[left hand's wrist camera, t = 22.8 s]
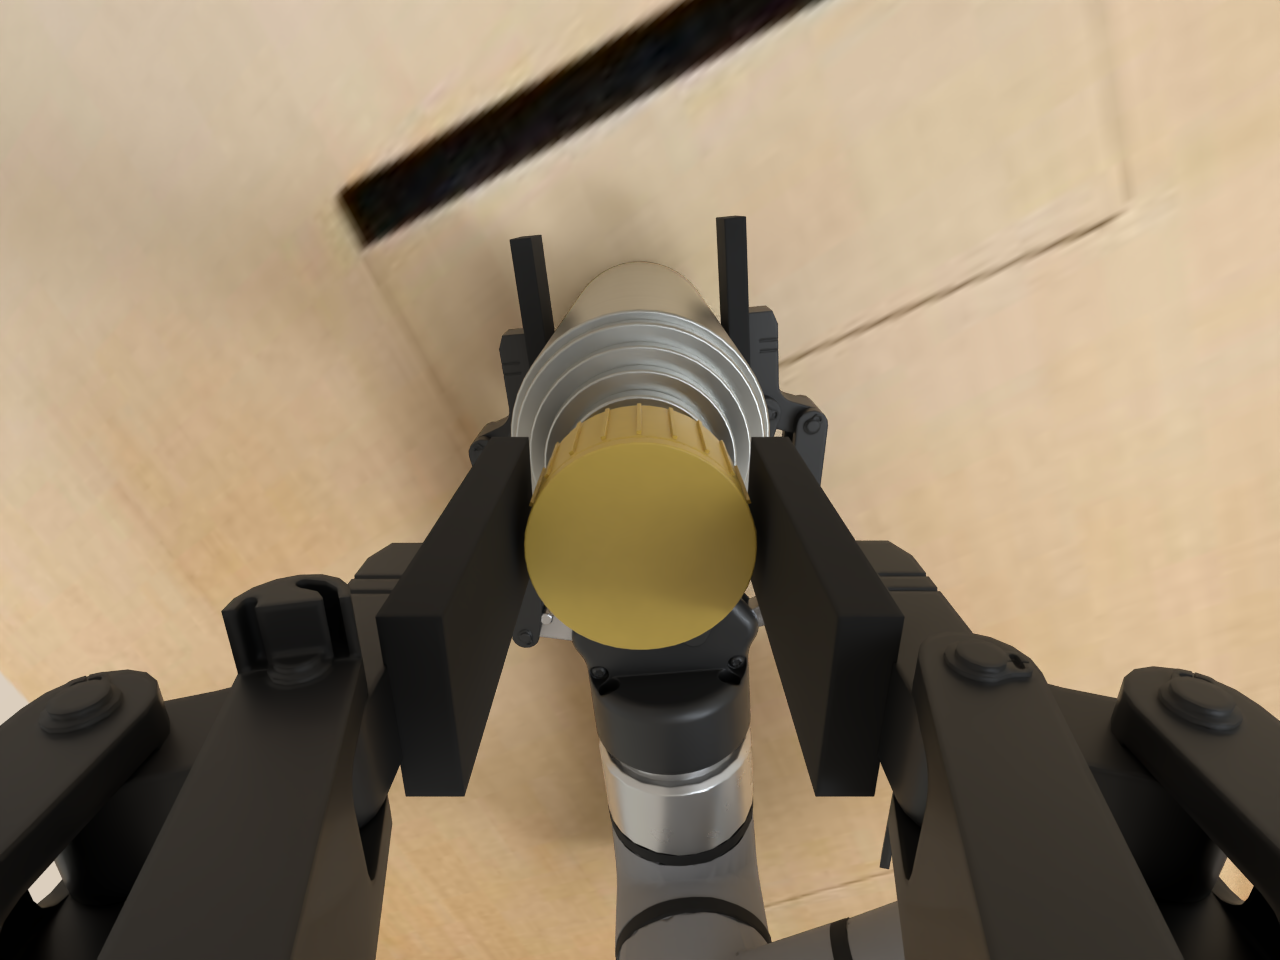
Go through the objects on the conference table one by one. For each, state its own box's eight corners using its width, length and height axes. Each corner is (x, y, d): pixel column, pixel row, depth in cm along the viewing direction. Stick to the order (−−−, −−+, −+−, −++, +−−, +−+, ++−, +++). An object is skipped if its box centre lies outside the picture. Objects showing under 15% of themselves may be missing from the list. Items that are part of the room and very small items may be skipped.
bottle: (667, 232, 31) (716, 277, 11) (735, 360, 33) (880, 592, 13) (541, 309, 32) (382, 476, 12) (616, 428, 34) (583, 732, 14)
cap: (766, 425, 14) (790, 466, 11) (713, 603, 15) (726, 670, 13) (557, 381, 13) (541, 416, 11) (525, 568, 15) (505, 630, 13)
